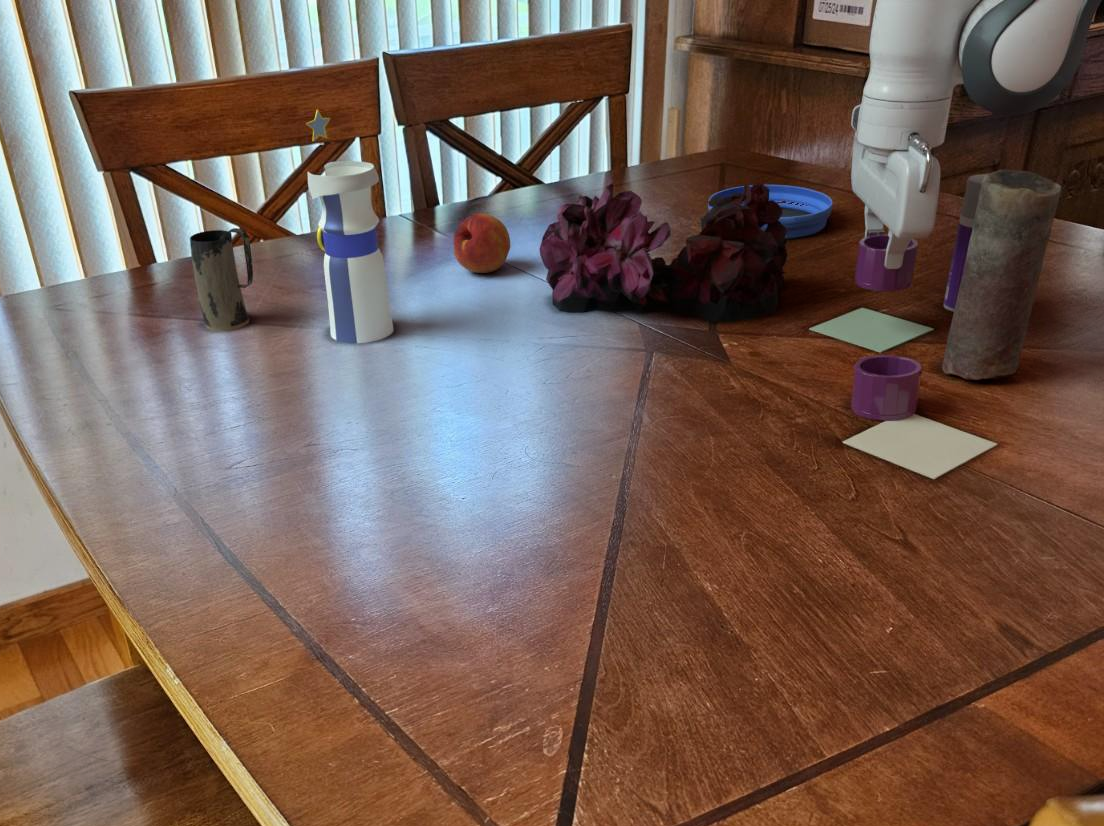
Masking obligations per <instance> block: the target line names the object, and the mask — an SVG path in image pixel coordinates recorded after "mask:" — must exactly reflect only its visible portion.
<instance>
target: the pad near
mask: <svg viewBox="0 0 1104 826" xmlns="http://www.w3.org/2000/svg"><path fill="white" fill-rule="evenodd" d="M842 444H844V445H847V446H850V447H852V448H854V449H857V450H859V451H861V452H864V453H867V454H869V455H872V456H874V457H876V458H879V459H882V460H884V461H887V462H889V463H892V464H894V465H896V466H899V467H902V468H905V469H907V470H909V471H912V472H914V473H916V474H919V475H922V476H924V477H927V478H928V479H929V478H930V479H932V480H937V479H938V478H940V477H942V476H943V475H945V474H947V473H949V472H951V471H953V470H955V469H957V468H958V467H960V466H962V465H965V464H966V463H968V462H969V461H971V460H974V459H976V458H977V457H979V456H980V455H982V454H985V453H986V452H988V451H990V450H991V449H994V448H995V447H997V446H998V444H999V443H996V442H994V441H991V440H988V439H985V438H982V437H980V436H976V435H974V434H971V433H969V432H965V431H963V430H960V429H957V428H954V427H952V426H949V425H946V424H944V423H941V422H938V421H935V420H932V419H930V418H926V417H924V416H921V415H918V414H916V413H914V414H913V415H912V416H910V417H907V418H904V419H900V420H891V421H883V422H881V423H878V424H877V425H874V426H872V427H870V428H868V429H866V430H864V431H861V432H860V433H858V434H856V435H853V436H851V437H848V438H847V439H845V440H843V441H842Z"/></svg>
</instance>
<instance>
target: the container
mask: <svg viewBox="0 0 1104 826" xmlns="http://www.w3.org/2000/svg"><path fill="white" fill-rule="evenodd" d="M986 174H987V173H984V174H973V175H971V176H969V177H968V178H967V183H966V187H965V192H964V197H963V202H962V206H961V211H960V215H959V220H958V225H957V230H956V236H955V241H954V246H953V251H952V255H951V262H950V267H949V272H948V277H947V283H946V289H945V294H944V299H943V305H942V306H943V307H944V309H946V310H947V311H950V312H953V313H954V309H955V305H956V301H957V296H958V292H959V288H960V284H961V280H962V275H963V269H964V265H965V260H966V255H967V251H968V246H969V242H970V237H971V234H972V229H973V224H974V218H975V213H976V209H977V205H978V201H979V195H980V189H981V186H982V183H983V179H984V177H985V176H986Z"/></svg>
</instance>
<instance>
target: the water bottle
mask: <svg viewBox="0 0 1104 826" xmlns="http://www.w3.org/2000/svg"><path fill="white" fill-rule="evenodd" d="M314 115H315V116H314V119H312V120H311V121H308V122H306V123H305V124H306V126H307V127H309V128H310V129H311V130H312V140H311V141H312V142H314V141H315V140H317V139H318V138H320V137H322V138H324V139H328V134H327V130H326V126H327V125H328V124H329V122H330V121H331V117H323V116H322V115H321V113H320V111H319V109H316V112H315V114H314ZM323 168H324V174H325V175H321V174H320V175H318V174H313V173H310V171H307V184H308V185H307V186H308V191H309V194H310V196H311V199H312V200H315V199H316V198H319V200H320V202H321V217H320V219H319V221H318V228H317V233H316V240H317V244H318V247H319V248H320V250H321V251H323V252H324V257H323V272H324V279H325V289H326V297H327V298H326V299H327V307H328V317H329V330H330V337H331V338H332V339H333V340H334V341H336V342H339V343H344V344H367V343H373V342H377V341H381V340H383V339H385V338H387V337H389V336H391V335H392V334H393V332H394V324H393V317H392V312H391V305H390V300H389V299H390V298H389V293H388V291H389V290H388V283H387V276H386V268H385V262H384V261H385V260H384V257H383V254H382V252H381V250H380V248H379V242H378V241H379V240H378V231H377V225H378V224H379V223H380V218H379V217H378V216H377V214H376V212H375V211H374V208H373V204H372V187H373V186H374V185H376V184H378V183H379V181H380V177H379V174H378V172H377V170H376V167H375V165H374V164H373V163H371V162H367V161H354V160H341V161H340V160H339V161H330V162H327V163H326V164H325V165H323Z"/></svg>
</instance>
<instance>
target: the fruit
mask: <svg viewBox="0 0 1104 826" xmlns="http://www.w3.org/2000/svg"><path fill="white" fill-rule="evenodd" d="M510 250H511V238H510V234H509V231H508V229H507V227H506V226H505V225H504V223H503V222H502V221H501V220H500V219H498V218H496V217H495V216H493V215H491V214H487V213H484V212H481V213H479V212H478V213H473V214H471V215H470V216H468V217H466V218H465V219H464V220H463V221H462V222H461V223H460V225H459V226H458V228H457V229H455V231H454V233H453V251H454V257H455V259H456V261H457V262H458V264H459V265H460V266H461V267H462V268H464V269H465V270H467V271H470V272H472V273H476V274H488V273H493V272H496V271H498V270H499V269H501V267H502V266H503V265H504V264H505V262H506V261H507V258H508V255H509V252H510Z"/></svg>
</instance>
